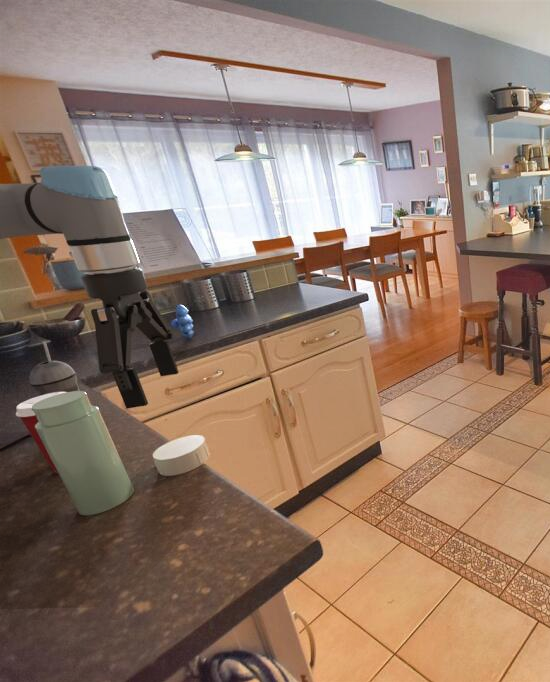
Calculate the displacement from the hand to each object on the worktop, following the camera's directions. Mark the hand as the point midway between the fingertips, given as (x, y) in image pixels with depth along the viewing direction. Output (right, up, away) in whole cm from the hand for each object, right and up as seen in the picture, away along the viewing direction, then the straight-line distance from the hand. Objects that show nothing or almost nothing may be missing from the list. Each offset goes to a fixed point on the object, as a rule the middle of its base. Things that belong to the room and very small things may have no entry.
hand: (155, 389), depth 77 cm
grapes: (-56, +10, +82) cm, 100 cm away
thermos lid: (+1, -14, +5) cm, 16 cm away
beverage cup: (-37, -11, +23) cm, 45 cm away
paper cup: (-22, -16, +7) cm, 28 cm away
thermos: (-5, -18, -4) cm, 19 cm away
